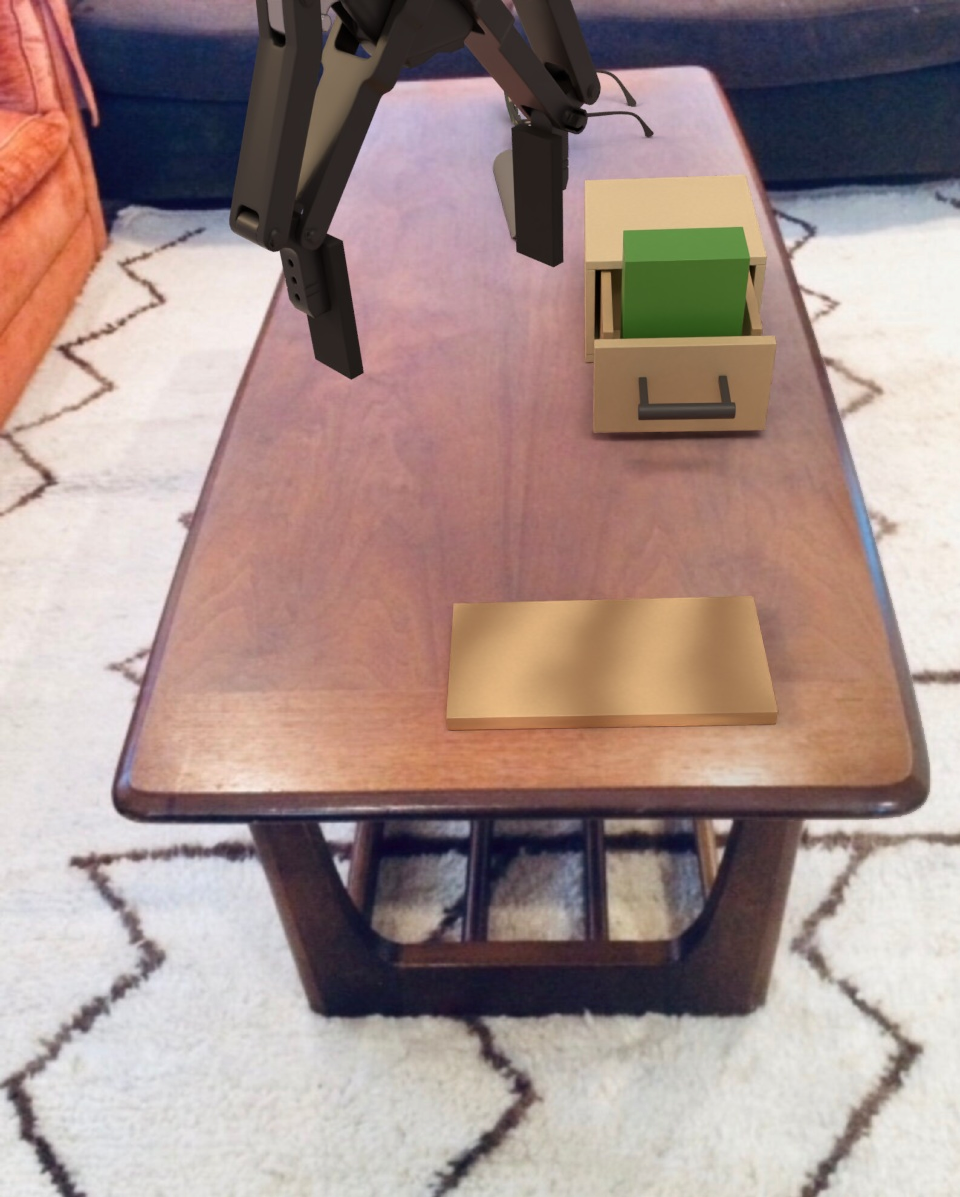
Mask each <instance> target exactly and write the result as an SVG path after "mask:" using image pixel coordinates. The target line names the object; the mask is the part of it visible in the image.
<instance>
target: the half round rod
mask: <svg viewBox="0 0 960 1197" xmlns="http://www.w3.org/2000/svg"><path fill="white" fill-rule="evenodd" d="M492 170H493V175H494V177H495V181H496V182H495V183H496V185H497V189H498V193H499V197H500V201H501V205H502V208H503V211H504V215H505V218H506V223H507V226H508V230H509V233H510V237H511V238H513V239H516V231H515V206H514V182H513V158H512V149H507V150H503V151H502V152H500V153H499V154H498V155H497V156H496V157H495V159H494V161H493V164H492Z"/></svg>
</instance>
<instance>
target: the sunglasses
mask: <svg viewBox="0 0 960 1197" xmlns="http://www.w3.org/2000/svg"><path fill="white" fill-rule="evenodd" d="M595 70H596V73H598V74H604V75H607V76H609V77H611V78H612V79H614V80H615V82H616V83H617V84H618V86H619V88H620V89H621V91H622V93H623V95H624V97H625V100H626V103H627V106H630V107H635V106H636V105H637V100H636V99H635V98H634V97H633V96H632V94H631V93H630V92H629V91H628V89H627V87H625V85H624V84H623V82H622V81H621V80H620V78H619V77H618V76H617V75H615V74H614V73H613V72H610V71H608V70H604V69H599V68H598V69H597V68H595ZM503 94H504V95H503V96H504V101H505V105H506V109H507V114H508V116H509V120H510V123H511V124H512V125H513V127H514V126H517V125H519V124H521V123H523V124H526V125H529V126H531V125H530V120H529V119H527V118H522V117H521V114H519V109H518V108H517V107H516V105H515V104H514V103H513V102H512V101H511V99H510V98H509V97H508V96H507V95H506V93H505V92H504V91H503ZM587 113H588V118H594V117H605V116H615V115H623V116H624V115H625V116H626V115H628V116H632V117H634V118H635V119H636V120H637V121H638V122H639V124H640V125H641V128H642V130H643V133H644V136H645V138H650V137H652V136H654V134H655V133H654V131H653V130H652V129H651V128H650V127H649V126H648V125H647V123H646V122H645V121H644V120H643V119H642V117H641V116H639V115H638V114H637V113H636V112H632V111H629V110H628V111H626V110H610V111H608V110H607V111H596V112H587Z"/></svg>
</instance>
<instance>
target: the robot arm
mask: <svg viewBox="0 0 960 1197" xmlns="http://www.w3.org/2000/svg"><path fill="white" fill-rule="evenodd" d="M511 1H512V4H513V6H514V8H515V11H516V14H517V17H518V18H519V21H520V23H521V26H522V28H523V31H524V33H525V36H526V39H527V41H528V43H527V41H526V40H525V39H524V37H523V36H522V34H521V33H520V31H518V29H517V27H516V26H515V25H514V24H515V22H516V19H515V17H514V15H513V14H512V12H511V11H510V10H509V8H508V7H507V5H506V4H505V3H504V2H503V0H255V7H256V16H257V26H258V35H259V37H258V43H257V47H256V48H257V49H256V54H255V59H254V60H255V61H254V65H253V66H254V67H253V71H252V72H253V73H252V77H251V84H250V91H249V95H248V96H249V97H248V103H247V109H246V115H245V119H244V120H245V121H244V127H243V134H242V138H241V145H240V152H239V159H238V163H237V169H236V175H235V181H234V186H233V193H232V199H231V205H230V210H229V211H230V212H229V217H228V225H229V227H230V230H231V231H232V232H233V234H235V235H237V236H239V237H241V238H244V239H245V240H247V241H249V242H251V243H253V244H255V245H257V246H259V247H261V248H263V249H265V250H267V251H270V252H272V253H278V252H279V255H280V260H281V266H282V270H283V275H284V278H285V279H284V280H285V285H286V287H287V288H286V290H287V295H288V299H289V301H290V303H291V304H292V305H293V307H294V308H295V309H296V310H298V311H300V312H302V313H304V314H305V315H306V318H307V324H308V329H309V335H310V340H311V345H312V349H313V354H314V359H315V360H316V361H317V362H319V363H320V364H323V365H324V366H326V367H328V368H329V369H331V370H333V371H334V372H337V373H339V375H342V376H344V377H346V378H347V379H349V380H351V381H352V380H354V379H355V378H358V377H360V376H362V375H363V374H364V373H365V370H364V365H363V359H362V358H363V357H362V352H361V345H360V339H359V335H358V334H359V333H358V326H357V320H356V315H355V308H354V302H353V296H352V289H351V282H350V277H349V276H350V275H349V270H348V264H347V263H348V262H347V258H346V251H345V245H344V240H342V239H340V238H339V237H336V236H334V235H332V234H329V233H328V232H329V230H330V227H331V224H332V222H333V219H334V217H335V214H336V212H337V209H338V207H339V204H340V201H341V199H342V197H343V194H344V192H345V189H346V186H347V184H348V182H349V179H350V177H351V175H352V171H353V169H354V166H355V165H356V161H357V159H358V157H359V155H360V151H361V149H362V146H363V144H364V141H365V139H366V138H367V137H366V136H367V134H368V131H369V129H370V127H371V124H372V121H373V119H374V117H375V114H376V111H377V110H378V106H379V104H380V102H381V99H382V98H383V96H384V95H385V94H388V93H389V92H392V90H393V89H394V88H395V86H396V84H397V82H398V80H399V77H400V74H401V73H402V70H403V68H405V69H409V70H411V69H413V68H416V67H418V66H419V67H420V66H422V65H423V64H425V63H426V62H428V61H429V60H430V59H431V58H433V57H434V56H435V55H436V54H439V53H441V54H442V53H445V54H446V53H447V54H449V53H450V54H451V53H455V52H457V51H459V50H462V49H464V48H465V46H466V48H467V49H468V50H469V52H471V53H472V55H473V56H474V57H475V58H476V59H477V61H478V62H479V63H480V64H481V66H482V67H483V68H484V69H485V70H486V72H487V73H488V74H489V75H490V77H491V78H492V79H493V80H494V81H495V83H496V84H497V85H498V86H499V87H500V88H501V90H502V91H503V93H504V92H505V93H506V95H507V96H508V97H509V98H510V99H511V101H512V102H513V103H514V104H515V106H516V107H517V108H518V111H519V112H520V113H521V114H522V115H523V117H524V118H525V119H529V120H530V125H526V124H523V123H521V124H519V125H517V126H514V125H513V126H512V127H510V130H511V131H510V132H511V133H510V134H511V150H512V158H513V182H514V206H515V231H516V238H515V251H516V253H518V254H519V255H523V256H525V257H527V258H530V259H532V260H534V261H536V262H539V263H541V264H544V265H546V266H549V267H551V268H555V267H558V266H560V265H561V264H563V263H564V262H565V261H564V260H565V259H564V191H565V190H567V187H568V183H569V176H570V174H569V173H570V172H569V154H570V153H569V133H570V134H573V135H580V134H582V133H583V132H584V130H585V129H586V127H587V124H588V121H589V117H588V113H589V112H587V109H585V108H582V107H583V106H584V105H587V106H592V105H595V104H596V102H597V101H598V99H599V98H600V95H601V90H602V85H601V81H600V78H599V76H598V74H597V72H596V70H595V69H596V67H595V64H594V62H593V59H592V56H591V53H590V50H589V46H588V45H587V42H586V40H585V36H584V33H583V31H582V30H583V29H582V28H581V25H580V22H579V19H578V16H577V14H576V11H575V8H574V5H573V3H572V2H573V1H572V0H511ZM330 9H331V10H332V11H333V12H334V13H335V18H334V21H333V20H332V17H331V16H330V14H329V10H330ZM332 21H333V22H332ZM328 31H329V33H328V35H327V39H326V41H325V43H323V42H324V41H323V35H324V34H323V32H324V33H326V32H328ZM323 46H324V47H323ZM360 46H361V47H362V48H363V50H364V51H365V52H366V53H367V54H368V55H369V56H370V57H369V58H364V57H361V56H358V55H356V54H357V51H358V49H359V47H360ZM321 65H322V68H323V70H322V74H321V77H320V72H321ZM319 77H320V80H319Z"/></svg>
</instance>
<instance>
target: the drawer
mask: <svg viewBox="0 0 960 1197" xmlns="http://www.w3.org/2000/svg"><path fill="white" fill-rule="evenodd" d="M621 291H622V269H601V278H600V339H595V340H594V362H593V402H592V403H593V404H592V405H593V406H592V408H593V410H592V412H593V414H592V417H593V418H592V426H593V427H592V431H593V432H592V433H595V434H596V433H597V434H598V433H600V434H601V433H654V432H655V433H659V432H660V433H664V432H665V433H666V432H668V433H669V432H715V431H716V432H723V431H724V432H725V431H726V432H730V431H731V432H732V431H738V432H739V431H765V429H766V424H767V416H768V408H769V402H770V394H771V390H772V388H771V387H772V380H773V373H774V367H775V359H776V352H777V347H778V346H777V345H778V343H777V338H776V336H775V335H763V331H764V330H763V329H764V328H763V324H762V319H761V313H760V314H759V310H758V305H757V301H756V297H755V292H754V288H753V284H752V279H751V275H750V271H749V274H748V283H747V291H746V300H745V309H744V317H743V326H742V334H741V336H729V337H684V338H639V339H620V326H621Z"/></svg>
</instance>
